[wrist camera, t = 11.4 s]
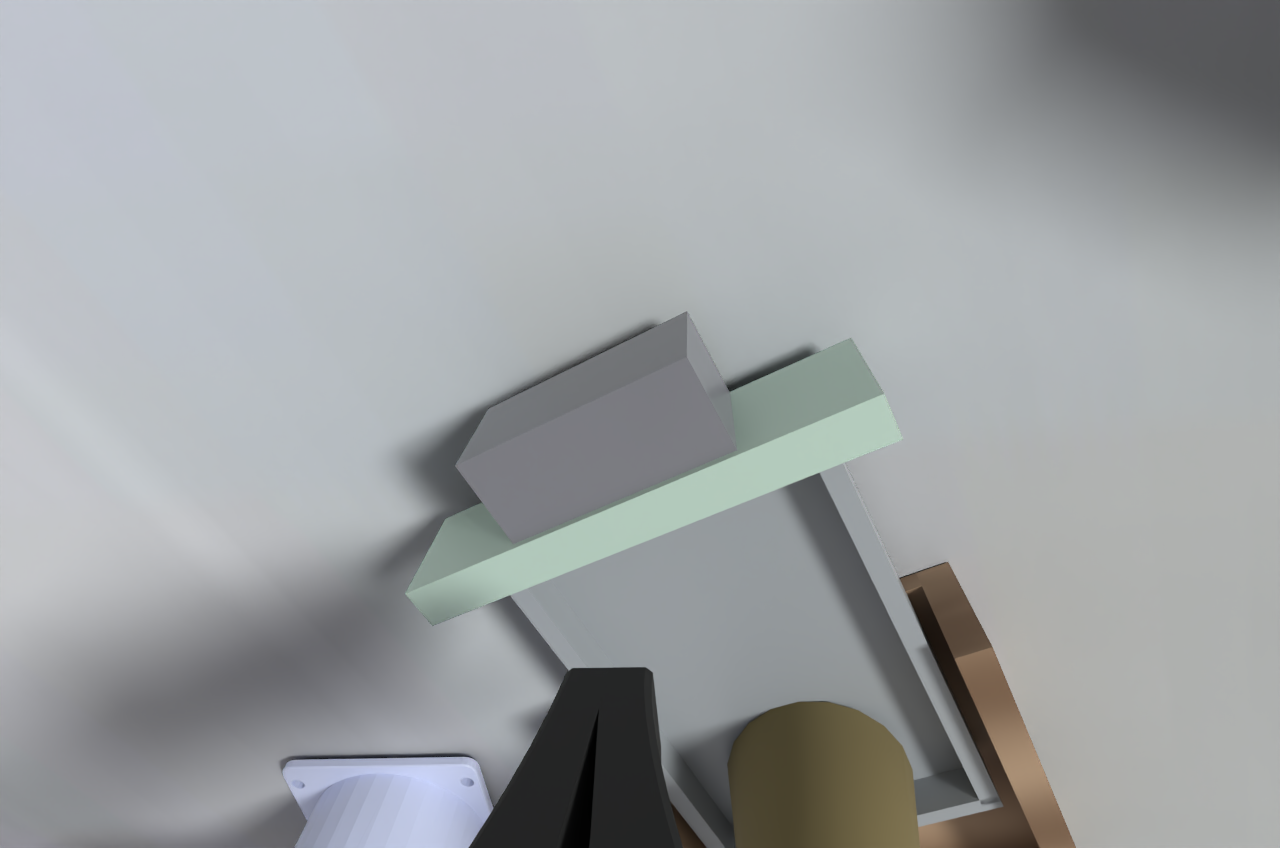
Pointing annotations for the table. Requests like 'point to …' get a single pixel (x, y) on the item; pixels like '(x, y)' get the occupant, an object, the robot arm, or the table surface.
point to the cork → (821, 781)
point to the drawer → (706, 556)
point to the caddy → (976, 729)
